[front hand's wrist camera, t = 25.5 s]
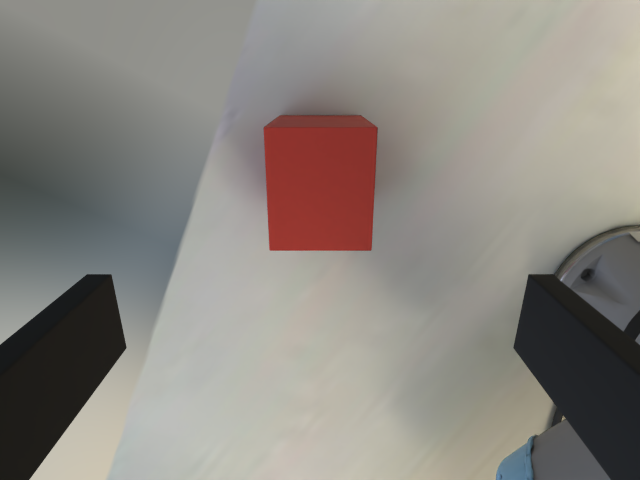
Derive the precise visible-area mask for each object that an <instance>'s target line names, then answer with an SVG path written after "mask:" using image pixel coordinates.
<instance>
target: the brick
mask: <svg viewBox="0 0 640 480" xmlns="http://www.w3.org/2000/svg"><path fill="white" fill-rule="evenodd" d="M377 129H378V128H377V127H376V126H375V125H373V124H372V123H371V122H369V121H368V120H367V119H365V118H364V117H362V116H361V115H280V116H278V117H277V118H276V119H274V120H273V121H272V122H270V123H269V124H268V125H266V126H265V127H264V145H265V165H266V186H267V207H268V227H269V248H270V250H365V251H371V249H372V229H373V209H374V189H375V169H376V149H377Z"/></svg>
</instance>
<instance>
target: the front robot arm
mask: <svg viewBox="0 0 640 480" xmlns="http://www.w3.org/2000/svg"><path fill="white" fill-rule="evenodd" d="M125 349H126V343H125V338H124V334H123V329H122V324H121V319H120V314H119V309H118V304H117V300H116V295H115V290H114V285H113V280H112V275H108V274H107V275H105V274H104V275H103V274H102V275H101V274H91V275H90V274H87V275H86V276H85V277H83V278H82V279H81V280H80V281H78V282H77V283H76V284H75V285H73V286H72V287H71V288H70V289H68V290H67V291H66V292H65V293H64V294H62V295H61V296H60V297H59V298H57V299H56V300H55V301H54V302H52V303H51V304H50V305H49V306H48V307H46V308H45V309H44V310H43V311H41V312H40V313H39V314H38V315H36V316H35V317H34V318H33V319H31V320H30V321H29V322H28V323H27V324H25V325H24V326H23V327H22V328H20V329H19V330H18V331H17V332H16V333H14V334H13V335H12V336H11V337H9V338H8V339H7V340H6V341H4V342H3V343H2V344H1V345H0V480H29V479H30V478H31V477H32V475H33V474H34V472H35V471H36V470H37V468H38V467H39V466H40V464H41V463H42V462H43V460H44V459H45V458H46V456H47V455H48V454H49V452H50V451H51V449H52V448H53V447H54V445H55V444H56V443H57V441H58V440H59V439H60V437H61V436H62V435H63V433H64V432H65V430H66V429H67V428H68V426H69V425H70V424H71V422H72V421H73V420H74V418H75V417H76V416H77V414H78V413H79V412H80V410H81V409H82V407H83V406H84V405H85V403H86V402H87V401H88V399H89V398H90V397H91V395H92V394H93V393H94V391H95V390H96V388H97V387H98V386H99V384H100V383H101V382H102V380H103V379H104V378H105V376H106V375H107V374H108V372H109V371H110V370H111V368H112V367H113V365H114V364H115V363H116V361H117V360H118V359H119V357H120V356H121V355H122V353H123V352H124V351H125ZM514 349H515V351H516V352H517V353H518V355H519V356H520V357H521V359H522V360H523V361H524V363H525V364H526V365H527V367H528V368H529V370H530V371H531V372H532V374H533V375H534V376H535V378H536V379H537V380H538V382H539V383H540V384H541V386H542V387H543V388H544V390H545V391H546V393H547V394H548V395H549V397H550V398H551V399H552V401H553V402H554V403H555V405H556V406H557V409H556V412H555V415H554V419H553V423H552V427H551V428H550V429H548V430H547V431H545V432H543V433H542V434H540V435H533V436H531V437H530V438H529V439H528V442H527V443H526V444H525V445H523V446H522V447H520V448H519V449H518V450H516V451H515V452H513V453H512V454H510V455H509V456H507V457H506V458H505V459H504V460H503V461H502V462H501V463H500V465H499V467H498V470H497V474H496V480H640V226H629V227H623V228H618V229H614V230H611V231H608V232H605V233H603V234H601V235H598V236H596V237H595V238H593V239H591V240H589V241H588V242H586V243H584V244H583V245H582V246H580V247H579V248H578V249H576V250H575V251H574V252H573V253H572V254H571V255H570V256H569V257H568V258H567V259H566V260H565V261H564V262H563V264H562V265H561V266H560V268H559V269H558V270H557V272H556V274H555V275H553V274H529V275H528V280H527V285H526V290H525V295H524V300H523V304H522V309H521V314H520V319H519V324H518V329H517V334H516V338H515V343H514ZM563 416H564V417H565V418H566V419H565V420H563V421H562V422H561V420H562V417H563Z"/></svg>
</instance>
